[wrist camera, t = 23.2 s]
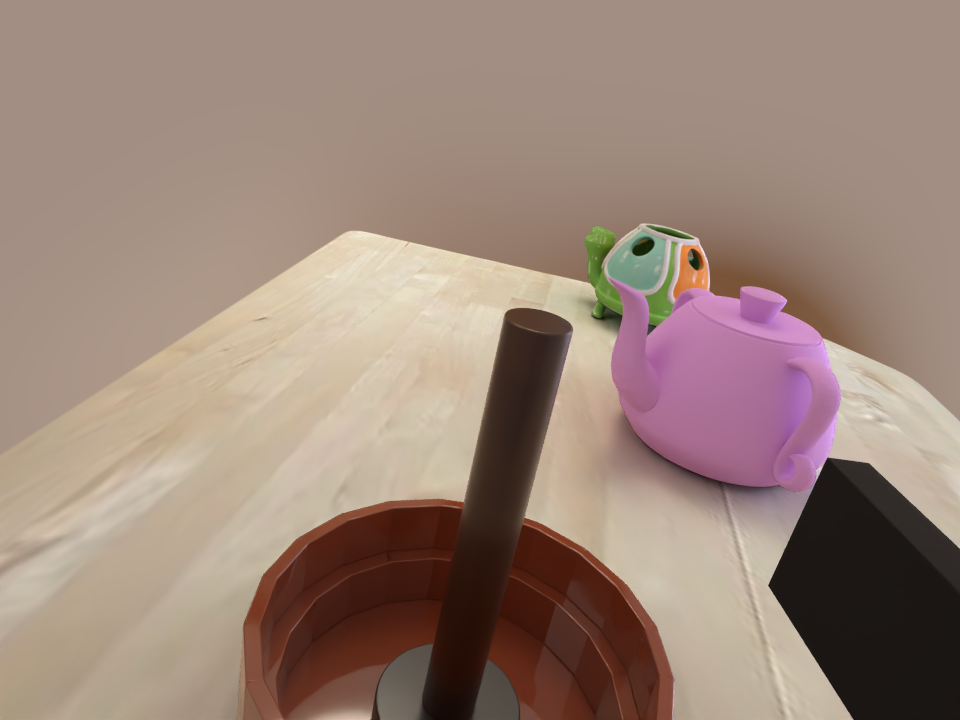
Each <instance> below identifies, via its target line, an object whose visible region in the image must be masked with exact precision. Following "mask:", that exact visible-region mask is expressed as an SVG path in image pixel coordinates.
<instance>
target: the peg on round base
mask: <svg viewBox="0 0 960 720" xmlns="http://www.w3.org/2000/svg"><path fill="white" fill-rule="evenodd" d="M572 333H573V327H572V325H571V324H570V323H569V322H568V321H566V320H565V319H563V318H561V317H559V316H557V315H555V314H552V313H549V312H546V311H542V310H537V309H530V308H515V309H511V310H508V311H507V312H506V313H505V315H504V319H503V324H502V329H501V333H500V338H499V343H498V347H497V352H496V356H495V361H494V366H493V370H492V375H491V380H490V384H489V389H488V394H487V398H486V403H485V407H484V412H483V417H482V421H481V426H480V431H479V435H478V440H477V444H476V449H475V454H474V458H473V463H472V468H471V472H470V477H469V481H468V486H467V491H466V495H465V500H464V505H463V509H462V514H461V519H460V523H459V528H458V532H457V537H456V542H455V546H454V551H453V556H452V560H451V565H450V569H449V574H448V579H447V583H446V588H445V593H444V597H443V602H442V606H441V611H440V616H439V620H438V625H437V630H436V634H435V639H434V643H432V644H425V645H420V646H417V647H414V648H412V649H409V650H407V651H405V652H404V653H402V654H400V655H399V656H397V657H396V658H395V659H394V660H393V661H392V662H391V663H390V664H389V665H388V666H387V667H386V669H385V670H384V671H383V673H382V675H381V677H380V679H379V681H378V684H377V687H376V693H375V698H374V704H373V710H372V720H520V706H519V701H518V697H517V694H516V691H515V689H514V687H513V685H512V683H511V681H510V680H509V678H508V677H507V676H506V674H505V673H504V672H503V671H502V670H501V669H500V668H499V667H498V666H497V665H496V664H495V663H494V662H493V661H491V660H490V659H489V658H488V655H489V651H490V647H491V644H492V640H493V636H494V632H495V628H496V624H497V621H498V617H499V613H500V609H501V605H502V601H503V598H504V594H505V590H506V586H507V582H508V578H509V575H510V571H511V567H512V563H513V559H514V555H515V551H516V548H517V544H518V540H519V536H520V532H521V528H522V525H523V521H524V517H525V513H526V509H527V505H528V502H529V498H530V494H531V490H532V486H533V482H534V479H535V475H536V471H537V467H538V463H539V459H540V456H541V452H542V448H543V444H544V440H545V436H546V432H547V429H548V425H549V421H550V417H551V413H552V409H553V406H554V402H555V398H556V394H557V390H558V386H559V383H560V379H561V375H562V371H563V367H564V363H565V360H566V356H567V352H568V348H569V344H570V340H571V337H572Z"/></svg>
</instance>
